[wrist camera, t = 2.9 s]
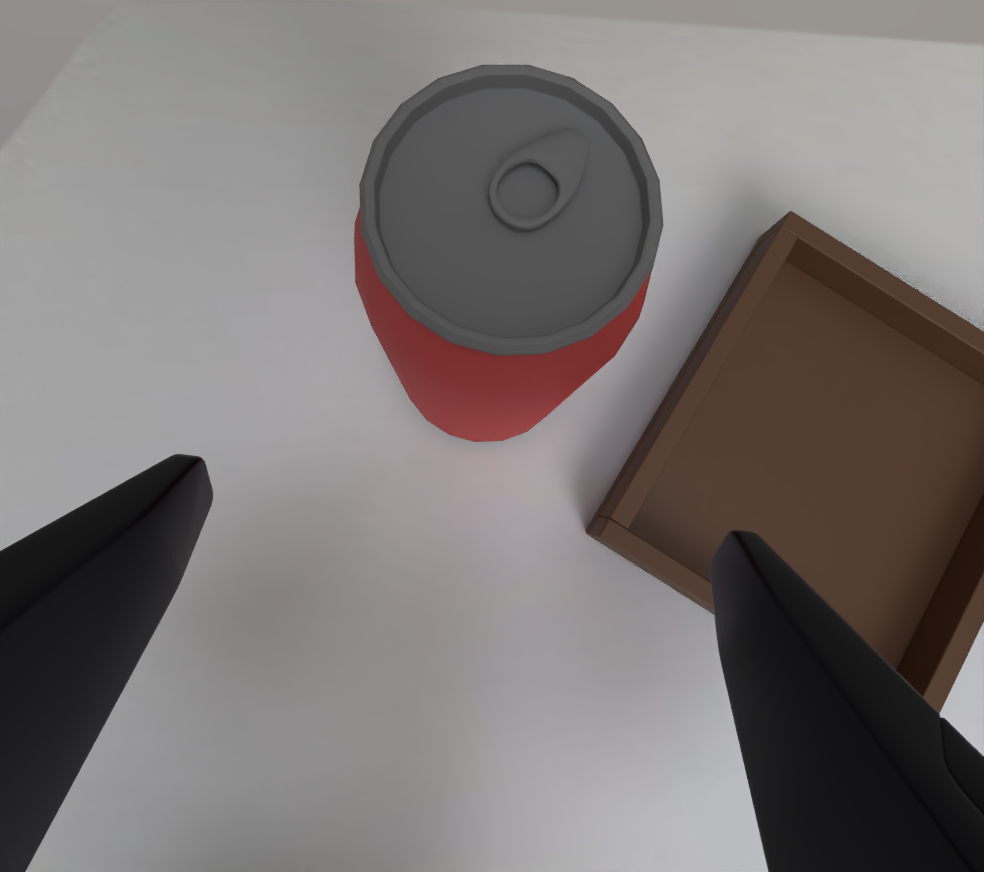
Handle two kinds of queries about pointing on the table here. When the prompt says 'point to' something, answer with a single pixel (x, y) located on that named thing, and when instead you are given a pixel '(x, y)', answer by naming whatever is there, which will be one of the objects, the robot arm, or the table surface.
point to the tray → (824, 451)
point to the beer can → (504, 244)
